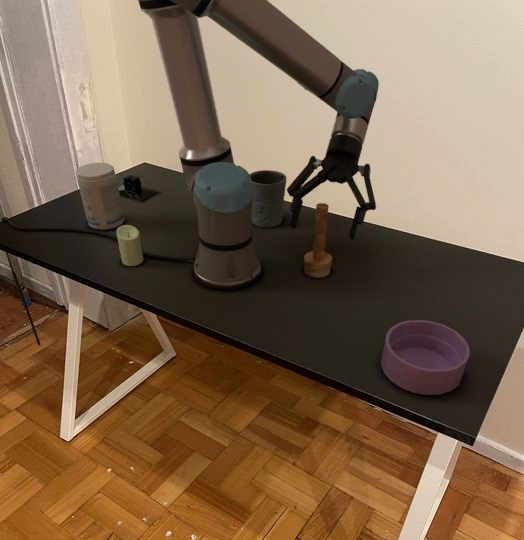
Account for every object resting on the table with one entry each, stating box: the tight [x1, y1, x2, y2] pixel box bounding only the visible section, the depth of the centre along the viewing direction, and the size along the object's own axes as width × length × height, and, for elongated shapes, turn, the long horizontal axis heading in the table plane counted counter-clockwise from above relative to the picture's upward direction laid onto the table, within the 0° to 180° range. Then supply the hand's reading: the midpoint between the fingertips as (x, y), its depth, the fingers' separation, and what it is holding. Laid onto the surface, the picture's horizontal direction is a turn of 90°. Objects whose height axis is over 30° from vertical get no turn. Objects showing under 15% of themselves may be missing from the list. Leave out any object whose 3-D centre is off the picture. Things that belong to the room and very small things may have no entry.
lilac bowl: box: [380, 319, 471, 396], centre depth 92 cm, size 14×14×6 cm
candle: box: [116, 224, 144, 267], centre depth 121 cm, size 5×5×8 cm
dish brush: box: [303, 202, 333, 278], centre depth 116 cm, size 6×6×16 cm
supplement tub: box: [75, 162, 125, 231], centre depth 135 cm, size 10×10×15 cm
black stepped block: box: [118, 174, 158, 202], centre depth 154 cm, size 12×7×5 cm, turn 59°
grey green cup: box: [249, 169, 287, 228], centre depth 137 cm, size 10×10×12 cm
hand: (321, 231), depth 115 cm, fingers open, 13 cm apart
